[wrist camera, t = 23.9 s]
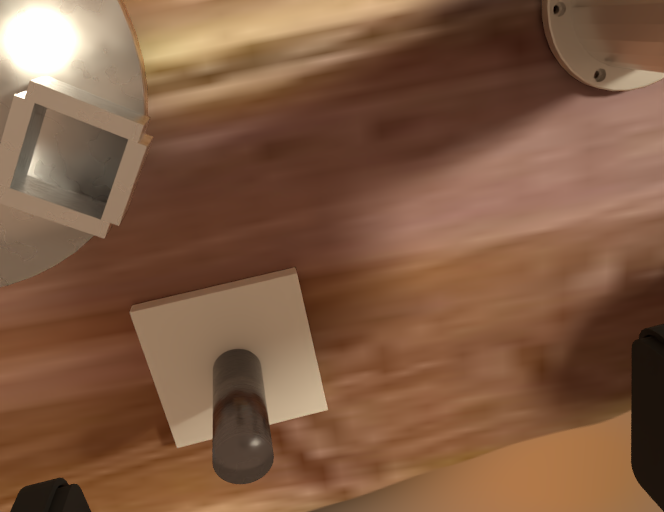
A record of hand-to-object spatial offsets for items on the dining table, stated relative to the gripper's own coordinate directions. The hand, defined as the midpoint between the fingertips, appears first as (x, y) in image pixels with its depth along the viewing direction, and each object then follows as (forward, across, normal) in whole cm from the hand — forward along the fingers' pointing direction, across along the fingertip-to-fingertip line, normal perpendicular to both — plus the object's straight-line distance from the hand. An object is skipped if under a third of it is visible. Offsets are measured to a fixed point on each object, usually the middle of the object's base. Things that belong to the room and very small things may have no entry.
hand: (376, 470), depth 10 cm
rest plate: (+33, +6, +16) cm, 37 cm away
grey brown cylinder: (+32, +6, +16) cm, 36 cm away
